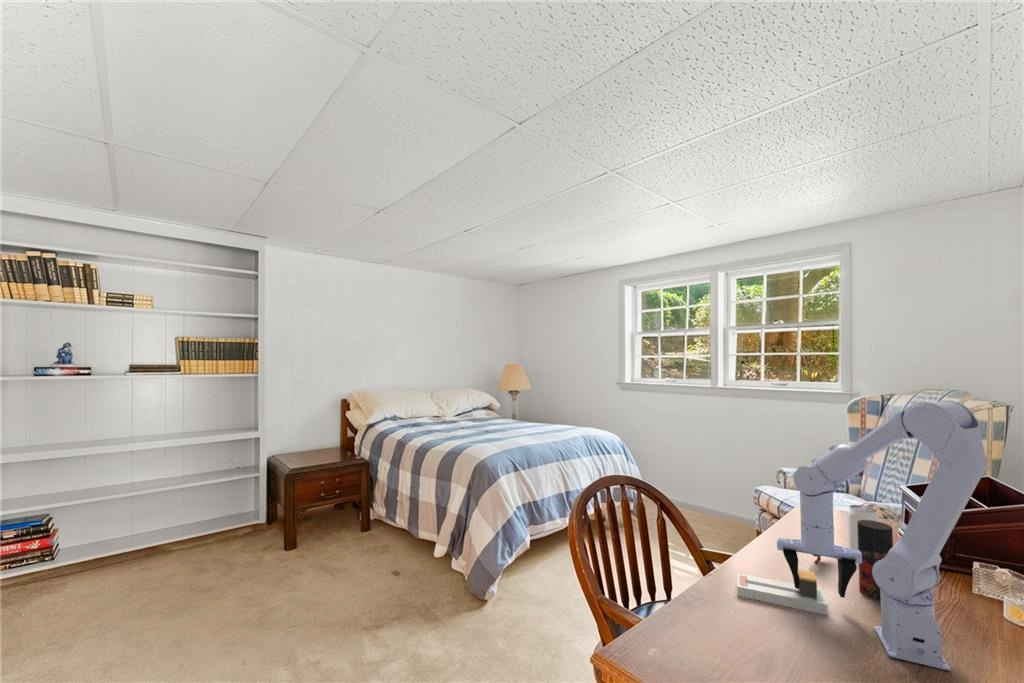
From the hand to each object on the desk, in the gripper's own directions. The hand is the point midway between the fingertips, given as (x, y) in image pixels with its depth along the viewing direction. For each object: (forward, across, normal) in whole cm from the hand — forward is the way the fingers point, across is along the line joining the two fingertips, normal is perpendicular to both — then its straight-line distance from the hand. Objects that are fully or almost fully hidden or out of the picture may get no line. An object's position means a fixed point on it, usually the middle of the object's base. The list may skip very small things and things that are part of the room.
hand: (818, 590), depth 93 cm
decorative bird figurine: (+3, -4, -26) cm, 26 cm away
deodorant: (+3, -12, -11) cm, 17 cm away
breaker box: (+3, +7, 0) cm, 8 cm away
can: (+3, -15, -36) cm, 39 cm away
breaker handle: (+1, +2, 0) cm, 2 cm away
